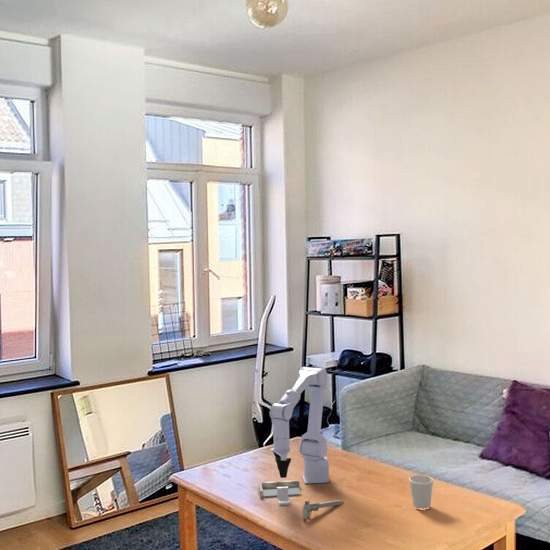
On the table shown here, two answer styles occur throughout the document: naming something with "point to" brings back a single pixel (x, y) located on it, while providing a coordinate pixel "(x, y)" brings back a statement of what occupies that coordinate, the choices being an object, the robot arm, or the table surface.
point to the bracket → (283, 496)
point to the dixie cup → (421, 490)
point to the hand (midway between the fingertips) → (282, 473)
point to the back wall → (280, 484)
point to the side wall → (260, 490)
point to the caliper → (317, 507)
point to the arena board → (273, 491)
